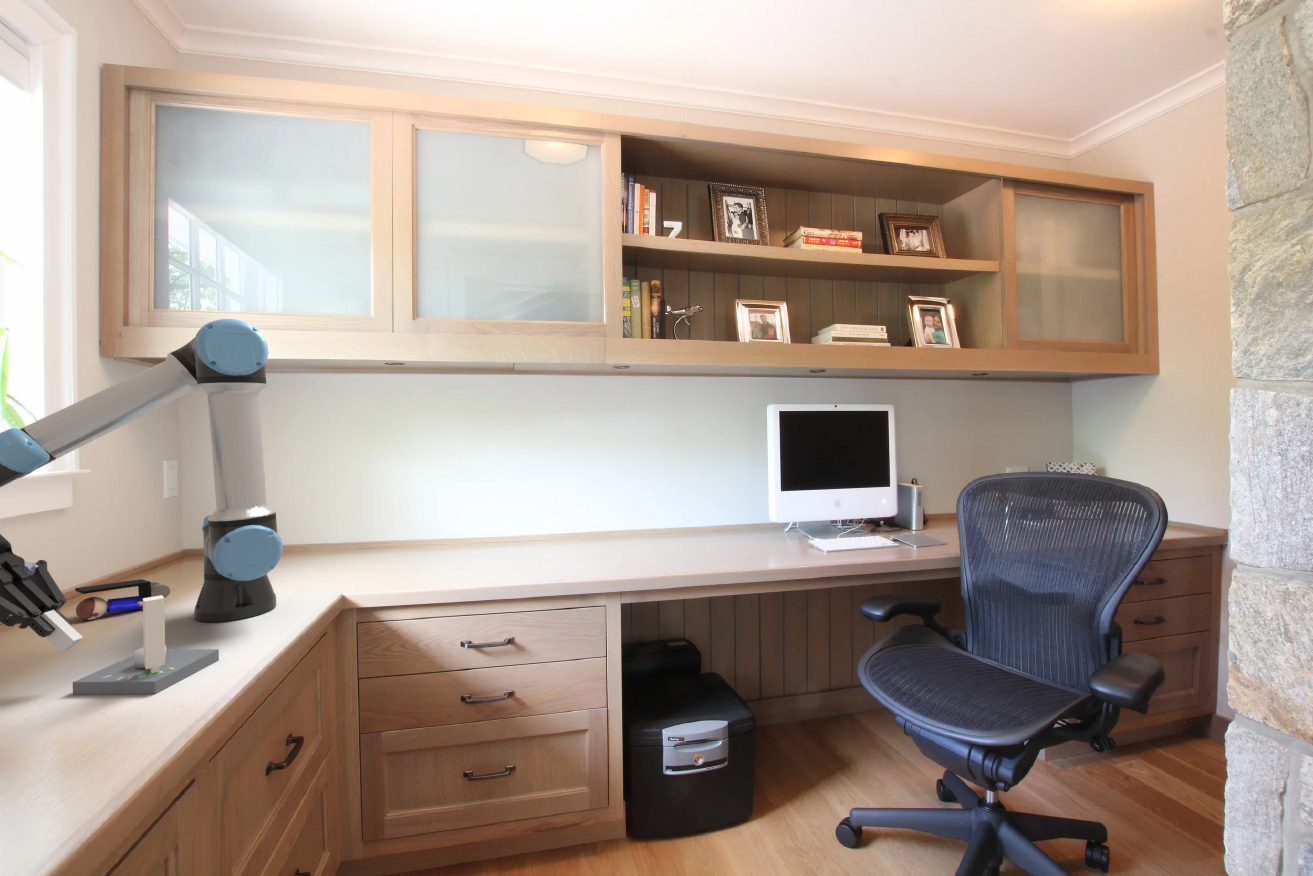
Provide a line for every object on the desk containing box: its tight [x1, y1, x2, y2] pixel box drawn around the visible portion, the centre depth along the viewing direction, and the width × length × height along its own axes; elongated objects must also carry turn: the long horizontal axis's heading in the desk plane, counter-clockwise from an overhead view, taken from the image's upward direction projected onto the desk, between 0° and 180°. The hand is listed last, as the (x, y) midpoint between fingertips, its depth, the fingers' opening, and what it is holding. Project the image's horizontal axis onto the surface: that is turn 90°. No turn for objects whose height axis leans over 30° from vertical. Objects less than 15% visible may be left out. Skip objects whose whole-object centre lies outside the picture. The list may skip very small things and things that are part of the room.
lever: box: [133, 595, 167, 674], centre depth 94 cm, size 8×4×12 cm, turn 48°
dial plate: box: [72, 648, 220, 696], centre depth 95 cm, size 13×13×2 cm
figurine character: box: [74, 578, 171, 621], centre depth 129 cm, size 7×8×15 cm
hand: (72, 645), depth 90 cm, fingers closed
